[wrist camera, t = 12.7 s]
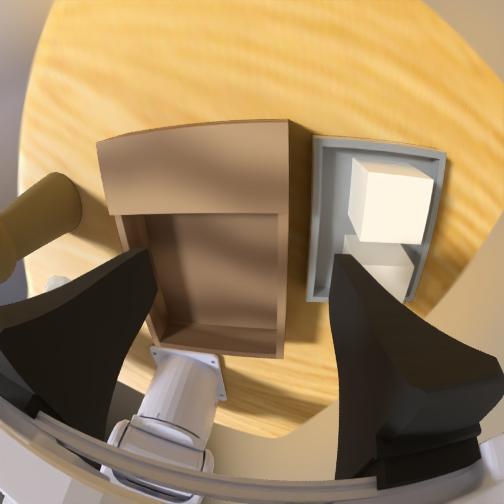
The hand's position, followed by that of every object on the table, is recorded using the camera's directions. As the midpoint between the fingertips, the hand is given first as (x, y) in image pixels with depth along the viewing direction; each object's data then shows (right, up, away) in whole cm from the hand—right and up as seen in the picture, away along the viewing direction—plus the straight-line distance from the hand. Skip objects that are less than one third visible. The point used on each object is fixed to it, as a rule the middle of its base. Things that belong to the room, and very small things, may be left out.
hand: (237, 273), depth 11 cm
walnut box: (-3, +2, +11) cm, 11 cm away
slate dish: (+9, +3, +8) cm, 13 cm away
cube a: (+9, 0, +9) cm, 13 cm away
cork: (-18, +6, +11) cm, 22 cm away
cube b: (+9, +5, +7) cm, 12 cm away
